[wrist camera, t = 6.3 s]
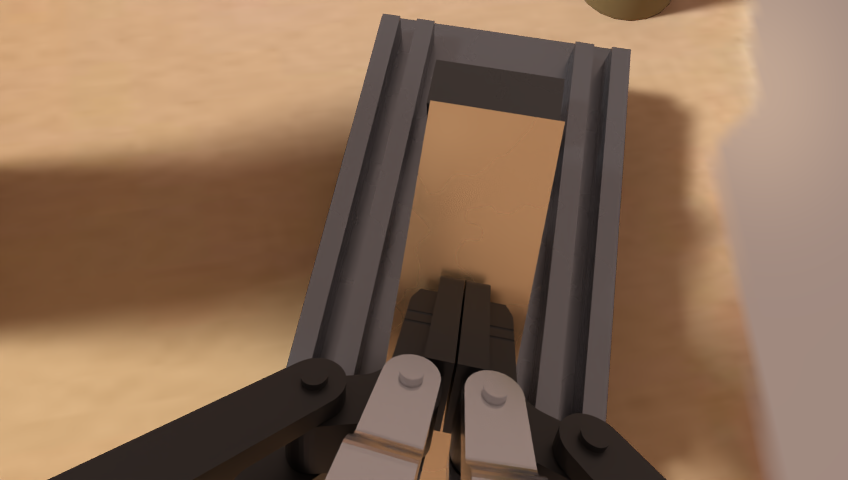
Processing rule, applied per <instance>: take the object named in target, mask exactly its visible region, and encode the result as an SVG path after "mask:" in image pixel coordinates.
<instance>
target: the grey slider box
mask: <svg viewBox="0 0 848 480" xmlns="http://www.w3.org/2000/svg"><path fill="white" fill-rule="evenodd" d="M630 54H631V50H630V49H623V48H616V47H612V49H607V48H600V47H594V44H588V43H581V42H576V43H575V44H573V43H566V42H559V41H552V40H545V39H539V38H532V37H525V36H518V35H511V34H504V33H497V32H491V31H484V30H477V29H470V28H463V27H456V26H449V25H442V24H436V23H435V21H430V20H423V19H417V21H415V20H408V19H401V18H400V16H396V15H389V14H383V16H382V18H381V22H380V25H379V29H378V33H377V36H376V40H375V44H374V47H373V51H372V55H371V58H370V62H369V66H368V69H367V73H366V77H365V80H364V84H363V88H362V91H361V95H360V99H359V102H358V106H357V110H356V113H355V117H354V121H353V124H352V128H351V132H350V135H349V139H348V143H347V146H346V150H345V154H344V157H343V161H342V165H341V168H340V172H339V176H338V179H337V183H336V187H335V190H334V194H333V198H332V201H331V205H330V209H329V212H328V216H327V220H326V224H325V227H324V231H323V235H322V238H321V242H320V246H319V249H318V253H317V257H316V260H315V264H314V268H313V271H312V275H311V279H310V282H309V286H308V290H307V293H306V297H305V301H304V304H303V308H302V312H301V315H300V319H299V323H298V326H297V330H296V334H295V337H294V341H293V345H292V348H291V352H290V356H289V359H288V363H287V367H289V366H291V365H293V364H295V363H298V362H300V361H302V360H306V359H310V358H325V359H329V360H331V361H334V362H336V363H337V364H339V365H340V366H341V367H342V368H343V370H344V372H345V374H346V376H348V375H364V374H369V373H373V372H376V371H378V370H380V369H382V368H383V366H384V365H385V364H386V358H387V352H388V346H389V340H390V334H391V328H392V323H393V317H394V311H395V305H396V299H397V293H398V287H399V281H400V276H401V270H402V264H403V258H404V252H405V246H406V240H407V235H408V229H409V223H410V217H411V211H412V205H413V199H414V194H415V188H416V182H417V176H418V170H419V164H420V158H421V153H422V147H423V141H424V135H425V129H426V123H427V117H428V112H429V106H430V100H431V101H437V102H444V103H450V104H456V105H463V106H469V107H475V108H482V109H488V110H494V111H501V112H507V113H513V114H520V115H526V116H532V117H538V118H545V119H551V120H557V121H564V122H565V125H564V130H563V135H562V140H561V145H560V150H559V155H558V160H557V165H556V170H555V175H554V180H553V185H552V190H551V195H550V200H549V205H548V210H547V215H546V220H545V225H544V230H543V235H542V240H541V245H540V250H539V255H538V260H537V265H536V270H535V275H534V280H533V285H532V290H531V295H530V300H529V305H528V310H527V315H526V320H525V325H524V330H523V335H522V340H521V345H520V350H519V355H518V360H517V365H516V373H517V384H518V385H519V386H520V388H521V389H522V391H523V393H524V397H525V399H526V400H527V401H528V402H529V403H530V404H531V405H532V406H534V407H535V408H537V409H538V410H540V411H542V412H543V413H545V414H547V415H549V416H551V417H554V418H556V419H558V420H560V421H562V420H563V419H564V418H565V417H567V416H568V415H571V414H576V413H583V414H588V415H592V416H595V417H597V418H599V419H601V420H603V421H604V422H606V412H607V397H608V382H609V367H610V353H611V338H612V323H613V308H614V293H615V278H616V263H617V248H618V233H619V218H620V203H621V189H622V174H623V159H624V144H625V129H626V114H627V99H628V84H629V69H630ZM287 367H286V368H287Z"/></svg>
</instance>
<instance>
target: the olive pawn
mask: <svg viewBox="0 0 848 480" xmlns="http://www.w3.org/2000/svg"><path fill="white" fill-rule="evenodd" d="M585 1H586V2H587V4H588V5H590V6H591V7H593V8H594V9H595V10H597V11H598V12H599V13H601V14H604V15H607V16H609V17H612V18H614V19H621V20H629V21H633V20H640V19H647V18H649V17H651V16H654V15H656V14H658V13H660V12H661V11H662V10H663V9H664V8H665V7H666V6H667V5H669V3H670V1H671V0H585Z"/></svg>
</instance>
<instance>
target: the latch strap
mask: <svg viewBox="0 0 848 480" xmlns="http://www.w3.org/2000/svg"><path fill="white" fill-rule="evenodd" d="M564 125H565V122H564V121H557V120H551V119H545V118H538V117H532V116H526V115H520V114H513V113H507V112H501V111H494V110H488V109H482V108H475V107H469V106H463V105H456V104H450V103H444V102H437V101H431V100H430V106H429V112H428V117H427V123H426V129H425V135H424V141H423V147H422V153H421V158H420V164H419V170H418V176H417V182H416V188H415V194H414V199H413V205H412V211H411V217H410V223H409V229H408V235H407V240H406V246H405V252H404V258H403V264H402V270H401V276H400V281H399V287H398V293H397V299H396V305H395V311H394V317H393V323H392V328H391V334H390V340H389V346H388V352H387V358H386V362H387V361H389V360H390V359H391V358H392V356H393V353H394V350H395V347H396V344H397V340H398V337H399V334H400V331H401V328H402V324H403V321H404V318H405V315H406V311H407V308H408V305H409V302H410V298H411V297H412V296H413V295H414V294H415V293H416V292H417V291H419V290H420V289H425V290H430V291H435V292H438V288H439V283H440V278H441V276H445V277H451V278H456V279H461V280H465V282H464V289H465V284H466V281H472V282H477V283H483V284H488V285H491V296H490V302H493V303H498V304H503V305H506V307H507V308H508V310H509V311H510V313H511V314H512V316H513V322H514V339H515V340H514V343H515V356H516V365H517V360H518V355H519V350H520V345H521V340H522V335H523V330H524V325H525V320H526V315H527V310H528V305H529V300H530V295H531V290H532V285H533V280H534V275H535V270H536V265H537V260H538V255H539V250H540V245H541V240H542V235H543V230H544V225H545V220H546V215H547V210H548V205H549V200H550V195H551V190H552V185H553V180H554V175H555V170H556V165H557V160H558V155H559V150H560V145H561V140H562V135H563V130H564ZM463 294H464V290H463ZM445 409H446V406H445ZM444 417H445V411H444V415H443V420H442V424H441V429H440V432H439V431H435V430H434V432H433V437H432V441H431V446H430V449H429V451H428V453H427V454H426V457H425V462H424V466H423V470H422V474H421V478H420V480H446V463H447V457H448V453H449V449H450V442H451V434H449V433H445V432H443V424H444Z"/></svg>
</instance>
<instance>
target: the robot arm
mask: <svg viewBox="0 0 848 480" xmlns="http://www.w3.org/2000/svg"><path fill="white" fill-rule="evenodd" d="M464 282H465V280H461V279H456V278H451V277H445V276H441V278H440V283H439V288H438V292H435V291H430V290H425V289H420V290H419V291H417V292H416V293H415V294H414V295H413V296H412V297H411V298H410V302H409V305H408V308H407V311H406V315H405V318H404V321H403V324H402V328H401V331H400V334H399V337H398V340H397V344H396V347H395V350H394V353H393V356H392V358H391V359H390V360H389V361H387V362H386V364H385V365H384V366H383V368H382V369H380V370H378V371H376V372H373V373H369V374H364V375H348V376H346V374H345V372H344V370H343V368H342V367H341V366H340V365H339V364H337V363H336V362H334V361H331V360H329V359H325V358H310V359H306V360H302V361H300V362H298V363H295V364H293V365H291V366H289V367H287V368H285V369H283V370H280V371H278V372H276V373H274V374H272V375H270V376H268V377H266V378H263V379H261V380H259V381H257V382H255V383H253V384H251V385H249V386H246V387H244V388H242V389H240V390H238V391H236V392H234V393H231V394H229V395H227V396H225V397H223V398H221V399H219V400H217V401H214V402H212V403H210V404H208V405H206V406H204V407H202V408H200V409H197V410H195V411H193V412H191V413H189V414H187V415H185V416H182V417H180V418H178V419H176V420H174V421H172V422H170V423H168V424H165V425H163V426H161V427H159V428H157V429H155V430H153V431H151V432H148V433H146V434H144V435H142V436H140V437H138V438H136V439H133V440H131V441H129V442H127V443H125V444H123V445H121V446H119V447H116V448H114V449H112V450H110V451H108V452H106V453H104V454H101V455H99V456H97V457H95V458H93V459H91V460H89V461H87V462H84V463H82V464H80V465H78V466H76V467H74V468H72V469H70V470H67V471H65V472H63V473H61V474H59V475H57V476H55V477H52V478H50V479H48V480H420V478H421V474H422V470H423V466H424V462H425V457H426V454H427V453H428V451H429V449H430V446H431V441H432V437H433V432H434V430H435V431H439V432H440V429H441V424H442V420H443V415H444V411H445V417H444V424H443V432H445V433H449V434H451V442H450V449H449V453H448V457H447V463H446V480H666V479H665V478H664V477H663V476H662V475H661V474H660V473H659V472H658V471H657V470H656V469H655V468H654V467H653V466H652V465H651V464H650V463H649V462H648V461H647V460H645V459H644V458H643V457H642V456H641V455H640V454H639V453H638V452H637V451H636V450H635V449H634V448H633V447H632V446H631V445H630V444H629V443H628V442H627V441H626V440H625V439H624V438H623V437H622V436H621V435H620V434H619V433H618V432H617V431H616V430H615V429H613V428H612V427H611V426H610V425H609V424H607V423H606V422H604V421H603V420H601V419H599V418H597V417H595V416H592V415H588V414H583V413H576V414H571V415H568V416H567V417H565V418H564V419H563V420H562V421H560V420H558V419H556V418H554V417H551V416H549V415H547V414H545V413H543V412H542V411H540V410H538V409H537V408H535V407H534V406H532V405H531V404H530V403H529V402H528V401H527V400H526V399H525V397H524V393H523V391H522V389H521V388H520V386H519V385H518V384H517V373H516V356H515V343H514V340H515V339H514V322H513V316H512V314H511V313H510V311H509V310H508V308H507V307H506V305H503V304H498V303H493V302H490V296H491V285H488V284H483V283H477V282H472V281H466V284H465V289H464ZM463 290H464V294H463ZM445 406H446V409H445Z"/></svg>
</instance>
